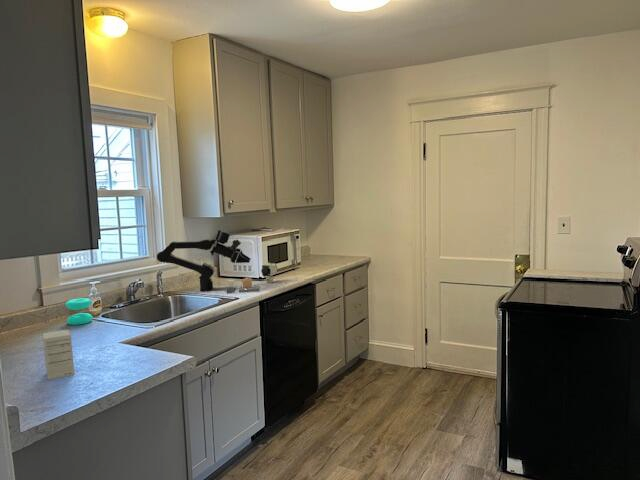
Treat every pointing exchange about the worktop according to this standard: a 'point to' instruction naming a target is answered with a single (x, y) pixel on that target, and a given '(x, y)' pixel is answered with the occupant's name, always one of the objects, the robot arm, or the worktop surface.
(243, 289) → the plate
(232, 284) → the block
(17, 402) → the worktop surface
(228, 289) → the ram rail
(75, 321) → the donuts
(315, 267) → the worktop surface
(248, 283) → the block
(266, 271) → the pneumatic valve
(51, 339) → the supplement box
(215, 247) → the robot arm
